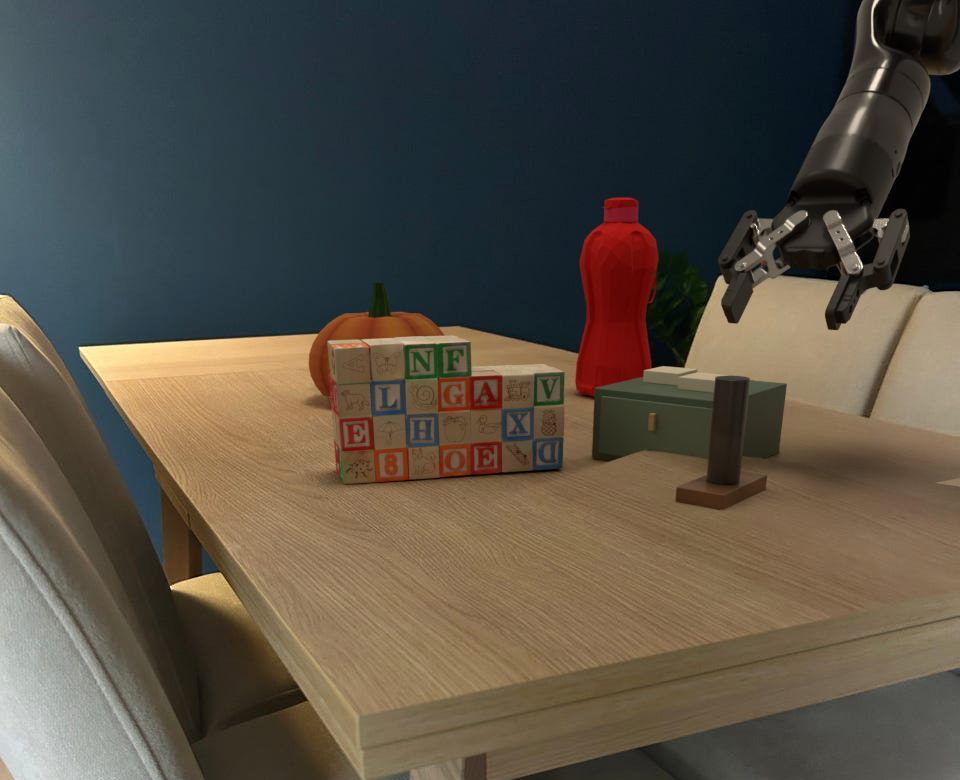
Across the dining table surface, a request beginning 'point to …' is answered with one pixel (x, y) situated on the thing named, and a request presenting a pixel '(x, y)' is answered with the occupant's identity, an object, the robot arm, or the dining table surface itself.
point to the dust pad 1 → (666, 375)
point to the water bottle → (616, 298)
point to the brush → (725, 451)
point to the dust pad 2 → (698, 382)
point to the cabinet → (678, 419)
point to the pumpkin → (365, 332)
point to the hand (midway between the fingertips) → (778, 319)
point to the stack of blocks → (439, 411)
